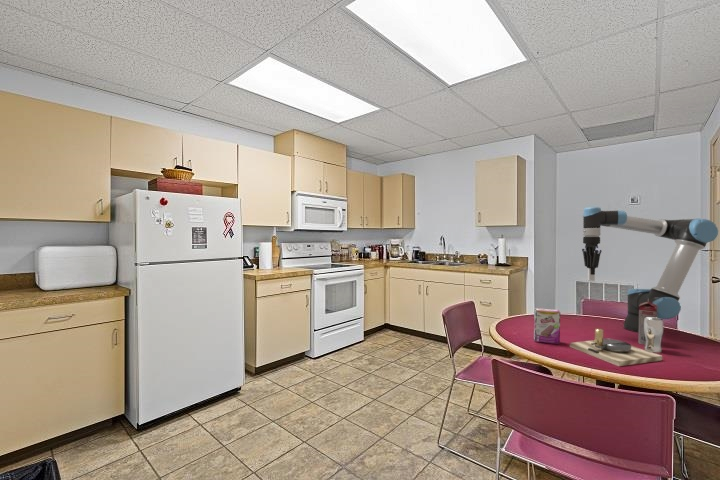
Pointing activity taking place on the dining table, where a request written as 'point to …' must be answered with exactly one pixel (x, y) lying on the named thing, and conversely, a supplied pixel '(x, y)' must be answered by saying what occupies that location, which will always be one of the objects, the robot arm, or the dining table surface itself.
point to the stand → (617, 354)
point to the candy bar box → (547, 326)
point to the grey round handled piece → (610, 343)
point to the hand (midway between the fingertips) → (591, 280)
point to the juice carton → (645, 311)
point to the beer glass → (653, 334)
